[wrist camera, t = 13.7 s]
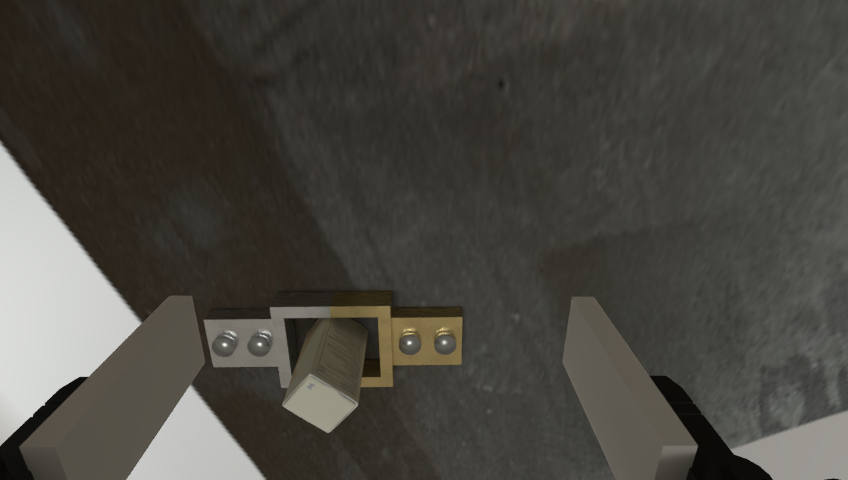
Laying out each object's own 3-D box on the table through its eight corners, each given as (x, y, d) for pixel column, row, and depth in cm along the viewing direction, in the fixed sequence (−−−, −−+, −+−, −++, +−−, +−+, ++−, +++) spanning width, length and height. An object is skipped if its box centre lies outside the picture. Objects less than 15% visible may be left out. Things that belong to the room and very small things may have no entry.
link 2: (341, 368, 51) (337, 387, 48) (335, 291, 48) (329, 306, 45) (459, 367, 51) (461, 385, 48) (461, 290, 48) (463, 305, 45)
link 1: (223, 370, 51) (212, 388, 48) (208, 292, 48) (195, 307, 45) (341, 368, 51) (337, 387, 48) (335, 291, 48) (329, 306, 45)
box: (306, 330, 49) (277, 404, 39) (331, 303, 48) (307, 371, 38) (347, 358, 51) (328, 436, 40) (372, 331, 50) (359, 405, 39)
